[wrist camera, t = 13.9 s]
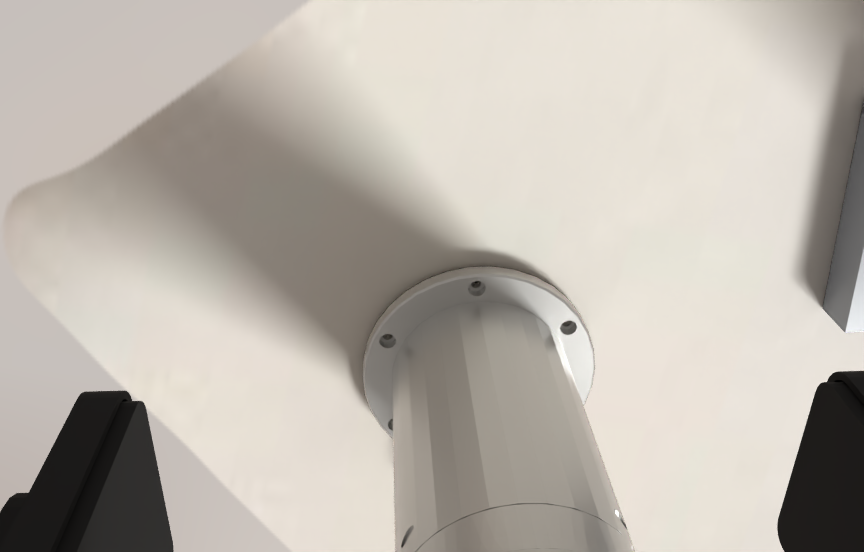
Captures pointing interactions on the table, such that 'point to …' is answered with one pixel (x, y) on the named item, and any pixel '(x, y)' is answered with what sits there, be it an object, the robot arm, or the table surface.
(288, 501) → the table surface
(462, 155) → the table surface
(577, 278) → the table surface
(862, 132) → the tray
